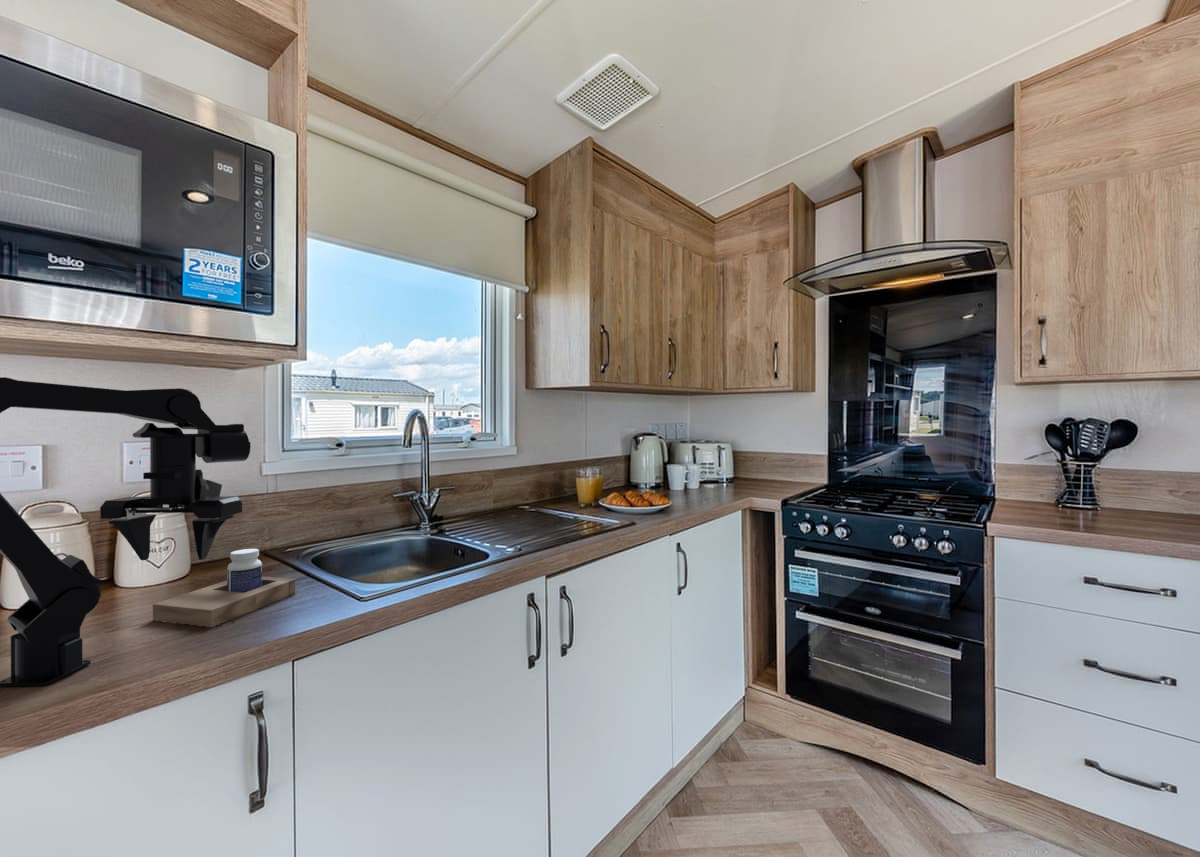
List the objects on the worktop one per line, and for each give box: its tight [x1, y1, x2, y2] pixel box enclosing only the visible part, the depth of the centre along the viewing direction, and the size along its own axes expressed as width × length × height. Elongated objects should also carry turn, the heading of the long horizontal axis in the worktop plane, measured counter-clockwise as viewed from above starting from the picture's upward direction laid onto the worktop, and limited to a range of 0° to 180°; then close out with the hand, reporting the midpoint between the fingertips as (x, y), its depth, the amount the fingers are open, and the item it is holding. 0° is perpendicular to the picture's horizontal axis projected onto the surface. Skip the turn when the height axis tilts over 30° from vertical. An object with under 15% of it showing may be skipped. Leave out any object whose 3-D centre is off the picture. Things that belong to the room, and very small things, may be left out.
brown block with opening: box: [152, 576, 296, 628], centre depth 97 cm, size 18×13×3 cm
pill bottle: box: [226, 548, 263, 593], centre depth 101 cm, size 6×6×10 cm
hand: (173, 559), depth 83 cm, fingers open, 9 cm apart
